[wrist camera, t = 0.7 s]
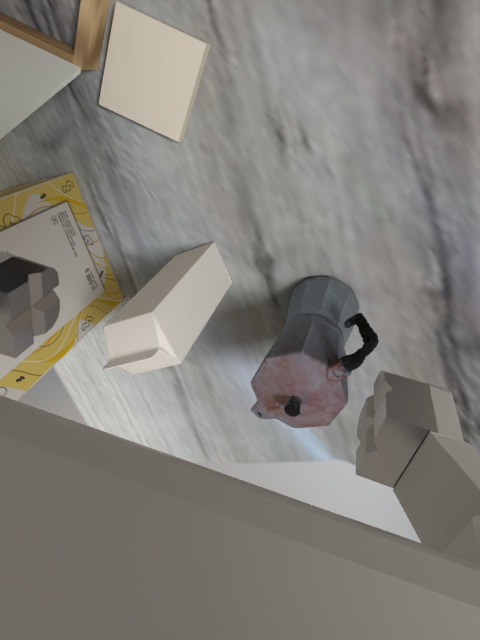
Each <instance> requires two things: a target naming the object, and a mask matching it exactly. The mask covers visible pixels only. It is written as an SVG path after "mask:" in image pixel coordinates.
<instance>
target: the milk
mask: <svg viewBox="0 0 480 640" xmlns="http://www.w3.org/2000/svg"><path fill="white" fill-rule="evenodd" d="M231 284H232V280H231V278H230V275H229V273H228V271H227V269H226V267H225V264H224V262H223V260H222V258H221V256H220V253H219V251H218V249H217V247H216V244H215V242H212V243H209V244H206V245H203V246H201V247H198V248H195V249H192V250H189V251H186V252H183V253H181V254H178V255H176V256H175V257H174V258H172V259H171V260H170V261H169V262H168V263H167V264H166V265H165V266H164V267H163V268H162V269H161V270H160V271H159V272H158V273H157V274H156V275H155V276H154V277H153V278H152V279H151V280H150V281H149V282H148V283H147V284H146V285H145V286H144V287H143V288H142V289H141V290H140V291H139V292H138V293H137V294H136V295H135V296H134V297H133V298H132V299H131V300H130V301H129V302H128V303H127V304H126V305H125V306H124V307H123V308H122V309H121V310H120V311H119V312H117V313H116V314H115V315H114V316H113V317H112V318H111V319H110V320H109V321H108V322H107V323H106V324H105V325H104V333H105V339H106V344H107V350H108V355H109V362H108V363H107V364H106V365H105V366H104V367H103V370H106V369H111V368H115V367H120V368H122V369H124V370H126V371H127V372H129V373H131V374H138V373H142V372H147V371H151V370H155V369H160V368H164V367H169V366H173V365H177V364H181V363H182V361H183V359H184V358H185V356H186V355H187V353H188V352H189V350H190V348H191V347H192V345H193V344H194V342H195V341H196V339H197V337H198V336H199V334H200V333H201V331H202V330H203V328H204V326H205V325H206V323H207V322H208V320H209V318H210V317H211V315H212V314H213V312H214V311H215V309H216V307H217V306H218V304H219V303H220V301H221V300H222V298H223V296H224V295H225V293H226V292H227V290H228V289H229V287H230V285H231Z"/></svg>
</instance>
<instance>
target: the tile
mask: <svg viewBox="0 0 480 640" xmlns="http://www.w3.org/2000/svg"><path fill="white" fill-rule="evenodd" d="M210 46H211V44H209V43H207V42H205V41H203V40H201V39H199V38H197V37H195V36H192V35H190V34H188V33H186V32H184V31H182V30H180V29H178V28H176V27H173V26H171V25H169V24H167V23H165V22H163V21H161V20H159V19H156V18H154V17H152V16H150V15H148V14H146V13H144V12H142V11H139V10H137V9H135V8H133V7H131V6H129V5H127V4H125V3H122V2H118V1H116V5H115V11H114V17H113V22H112V28H111V34H110V40H109V46H108V52H107V57H106V63H105V69H104V75H103V81H102V87H101V93H100V98H99V105H101V106H103V107H105V108H108V109H110V110H112V111H114V112H116V113H118V114H120V115H122V116H124V117H126V118H129V119H131V120H133V121H135V122H137V123H139V124H141V125H143V126H145V127H147V128H150V129H152V130H154V131H156V132H158V133H160V134H162V135H164V136H166V137H168V138H171V139H173V140H175V141H177V142H180V141H183V140H184V136H185V133H186V129H187V126H188V122H189V119H190V115H191V112H192V108H193V105H194V101H195V98H196V94H197V91H198V87H199V84H200V81H201V77H202V74H203V70H204V67H205V63H206V60H207V56H208V53H209V49H210Z"/></svg>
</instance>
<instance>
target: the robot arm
mask: <svg viewBox="0 0 480 640" xmlns="http://www.w3.org/2000/svg"><path fill="white" fill-rule="evenodd" d="M58 285H59V277H58V272H57V271H56V270H55V269H54V268H52V267H49V266H46V265H43V264H40V263H37V262H34V261H31V260H28V259H25V258H22V257H18V256H16V255H13V254H10V253H7V252H3V251H0V354H3V355H6V356H9V357H12V358H17V357H18V356H19V355H20V354H22V353H23V352H24V351H25V350H26V349H28V348H29V347H30V346H31V345H32V344H34V336H38V335H42V334H45V333H47V332H48V331H49V330H50V329H51V328H52V327H53V326H54V324H55V322H56V320H57V319H58V316H59V311H60V299H59V298H58V296H57V295H56V293H55V291H54V290H55V289H56V288H57V287H58ZM357 437H358V439H359V440H360V442H361V443H360V445H359V447H358V449H357V451H356V475H359V476H362V477H364V478H367V479H370V480H372V481H375V482H378V483H381V484H384V485H386V486H389V487H392V488H394V490H393V491H394V493H395V494H396V496H397V498H398V500H399V502H400V504H401V505H402V507H403V509H404V511H405V513H406V515H407V516H408V518H409V520H410V522H411V524H412V526H413V528H414V529H415V531H416V533H417V535H418V537H419V539H420V541H421V542H422V544H421V543H418V542H415V541H412V540H410V539H407V538H404V537H401V536H399V535H396V534H393V533H390V532H387V531H384V530H381V529H379V528H376V527H373V526H370V525H367V524H364V523H361V522H359V521H356V520H353V519H350V518H347V517H344V516H341V515H339V514H336V513H333V512H330V511H327V510H324V509H321V508H318V507H315V506H313V505H310V504H307V503H304V502H301V501H299V500H296V499H293V498H290V497H287V496H285V495H282V494H279V493H276V492H273V491H271V490H268V489H265V488H262V487H259V486H256V485H254V484H251V483H248V482H245V481H242V480H239V479H237V478H234V477H231V476H228V475H225V474H223V473H220V472H217V471H214V470H211V469H208V468H206V467H203V466H200V465H197V464H194V463H191V462H189V461H186V460H183V459H180V458H177V457H175V456H172V455H169V454H166V453H163V452H160V451H158V450H155V449H152V448H149V447H146V446H143V445H140V444H138V443H135V442H132V441H129V440H126V439H123V438H120V437H118V436H115V435H112V434H109V433H106V432H103V431H101V430H98V429H95V428H92V427H89V426H86V425H83V424H80V423H78V422H75V421H72V420H69V419H66V418H64V417H61V416H57V415H55V414H52V413H49V412H46V411H44V410H41V409H38V408H35V407H32V406H29V405H27V404H23V403H21V402H18V401H15V400H12V399H10V398H7V397H4V396H1V395H0V640H480V453H479V452H478V451H477V450H476V449H475V448H474V447H473V446H472V445H471V444H469V443H466V442H464V440H463V436H462V432H461V428H460V424H459V420H458V416H457V412H456V408H455V404H454V400H453V396H452V393H451V391H450V390H449V389H445V388H442V387H438V386H434V385H431V384H427V383H422V382H419V381H415V380H412V379H409V378H405V377H402V376H398V375H395V374H391V373H388V372H385V371H381V372H380V374H379V375H378V377H377V379H376V381H375V383H374V395H372V396H370V397H368V398H367V399H366V401H365V404H364V406H363V408H362V411H361V414H360V417H359V422H358V428H357Z"/></svg>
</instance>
